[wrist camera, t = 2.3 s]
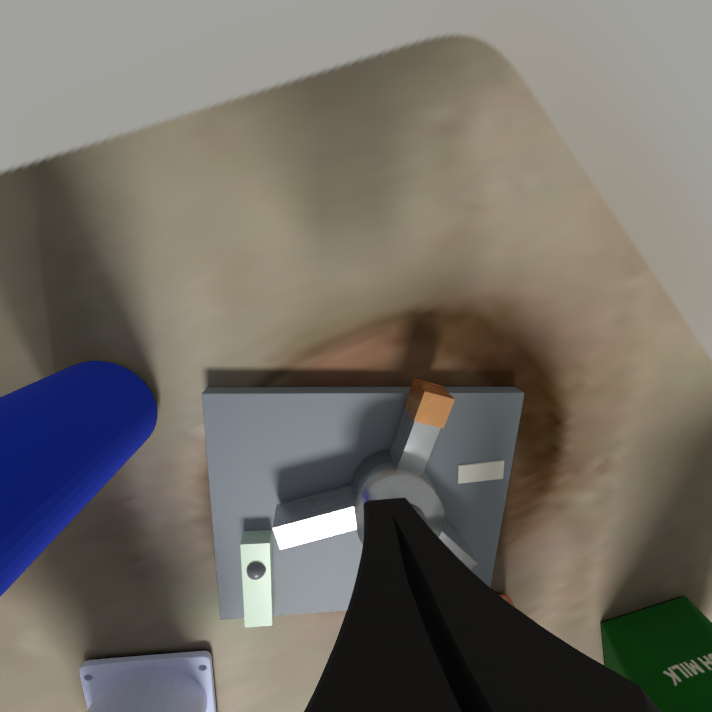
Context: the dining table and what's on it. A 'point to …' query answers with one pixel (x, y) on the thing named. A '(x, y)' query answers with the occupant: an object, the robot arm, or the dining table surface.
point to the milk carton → (664, 654)
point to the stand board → (340, 477)
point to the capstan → (382, 482)
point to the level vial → (257, 577)
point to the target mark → (480, 471)
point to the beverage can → (63, 452)
